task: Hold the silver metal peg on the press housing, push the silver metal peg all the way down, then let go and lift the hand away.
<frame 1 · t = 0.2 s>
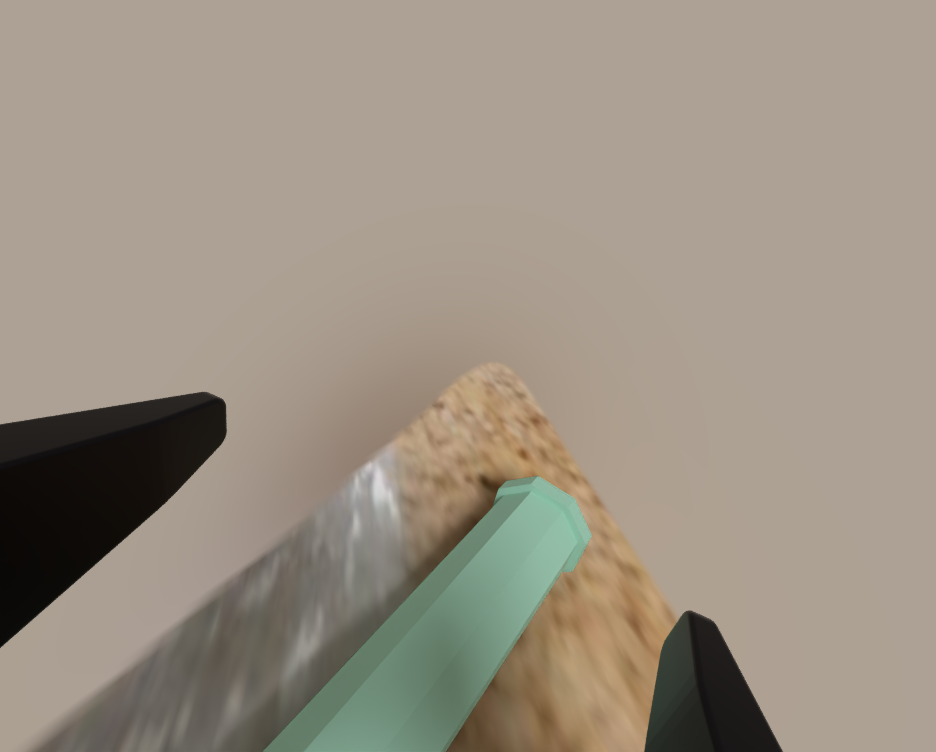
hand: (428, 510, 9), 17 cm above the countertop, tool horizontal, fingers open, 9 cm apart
mint green octagonal rod: (385, 737, 21), on the countertop
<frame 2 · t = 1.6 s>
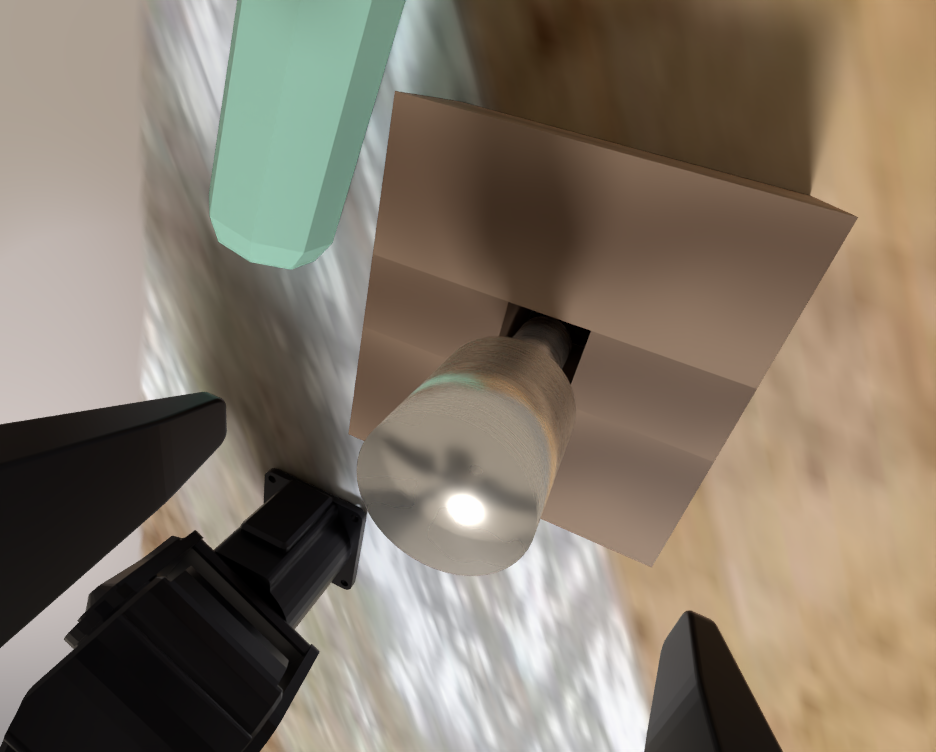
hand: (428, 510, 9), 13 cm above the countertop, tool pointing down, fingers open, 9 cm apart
press housing: (566, 308, 20), on the countertop
silver metal peg: (506, 399, 13), point 8 cm above the countertop, slide at 0.0 cm
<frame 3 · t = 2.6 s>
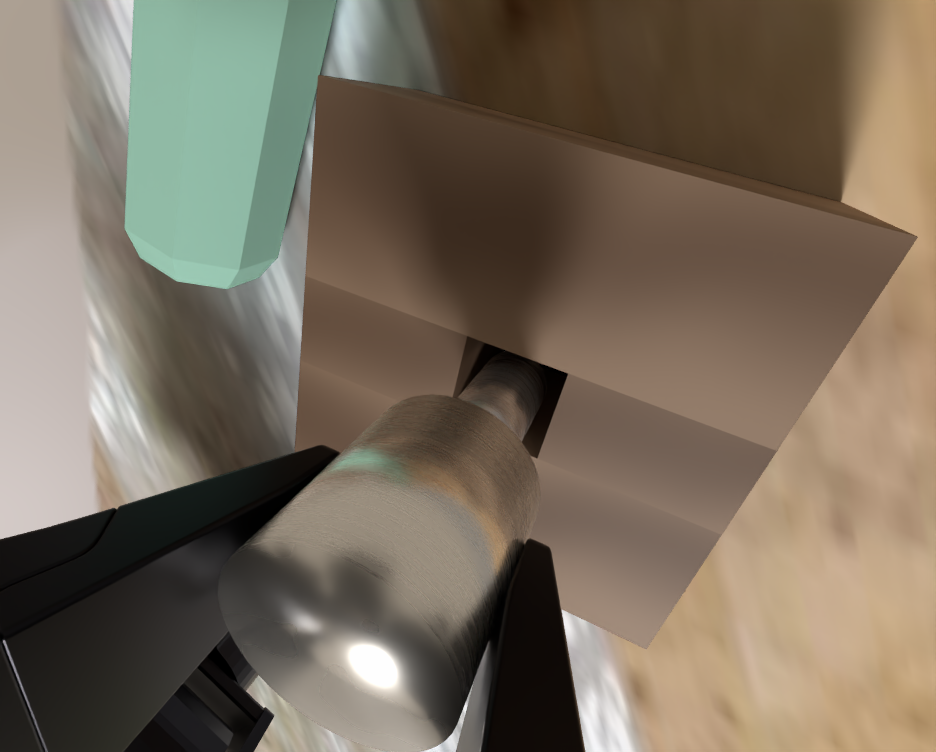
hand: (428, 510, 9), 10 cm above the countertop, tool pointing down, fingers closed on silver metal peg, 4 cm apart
press housing: (547, 333, 17), on the countertop
silver metal peg: (454, 470, 10), point 8 cm above the countertop, slide at 0.0 cm, touching gripper
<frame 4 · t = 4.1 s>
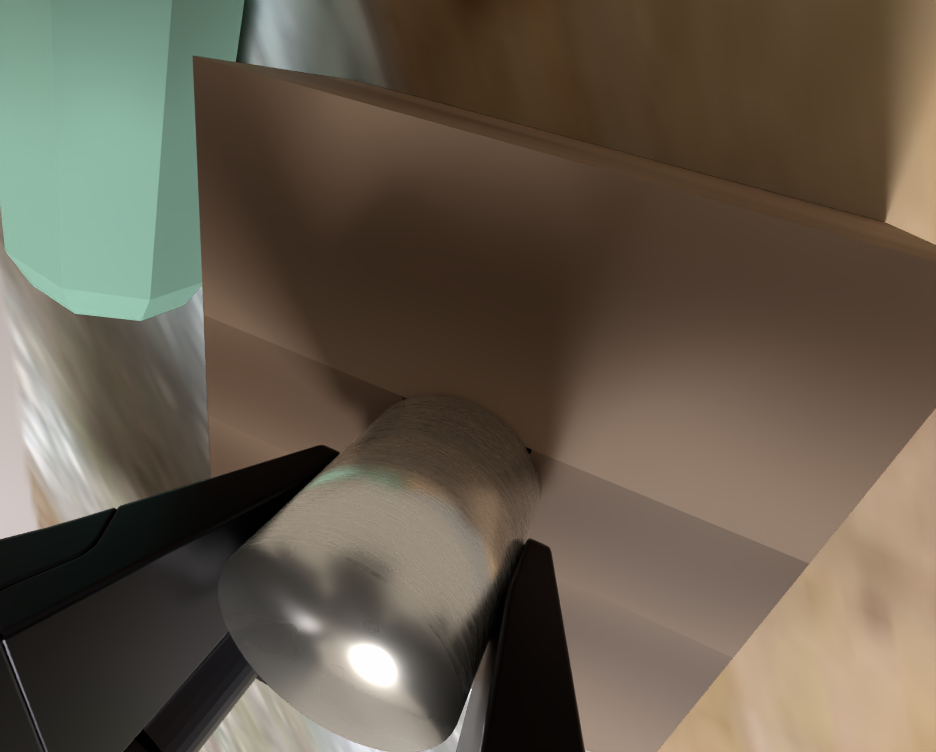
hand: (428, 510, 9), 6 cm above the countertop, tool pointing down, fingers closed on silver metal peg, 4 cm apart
press housing: (520, 373, 14), on the countertop
silver metal peg: (454, 470, 10), point 5 cm above the countertop, slide at 3.4 cm, touching gripper
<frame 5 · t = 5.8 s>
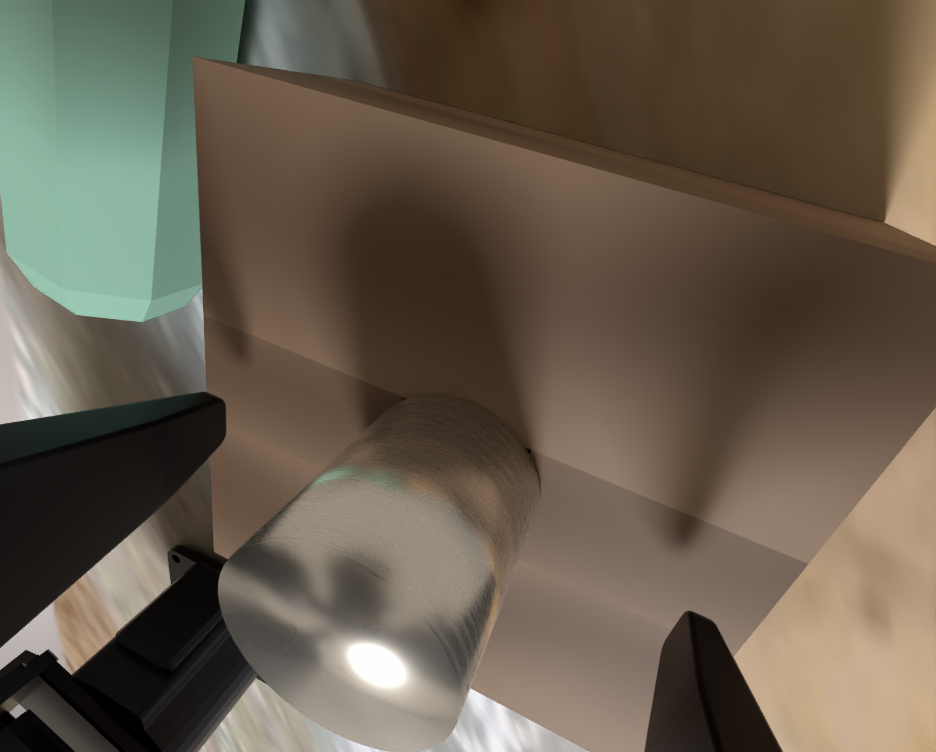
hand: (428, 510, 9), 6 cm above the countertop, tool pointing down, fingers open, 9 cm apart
press housing: (519, 374, 14), on the countertop
silver metal peg: (454, 470, 10), point 5 cm above the countertop, slide at 3.4 cm
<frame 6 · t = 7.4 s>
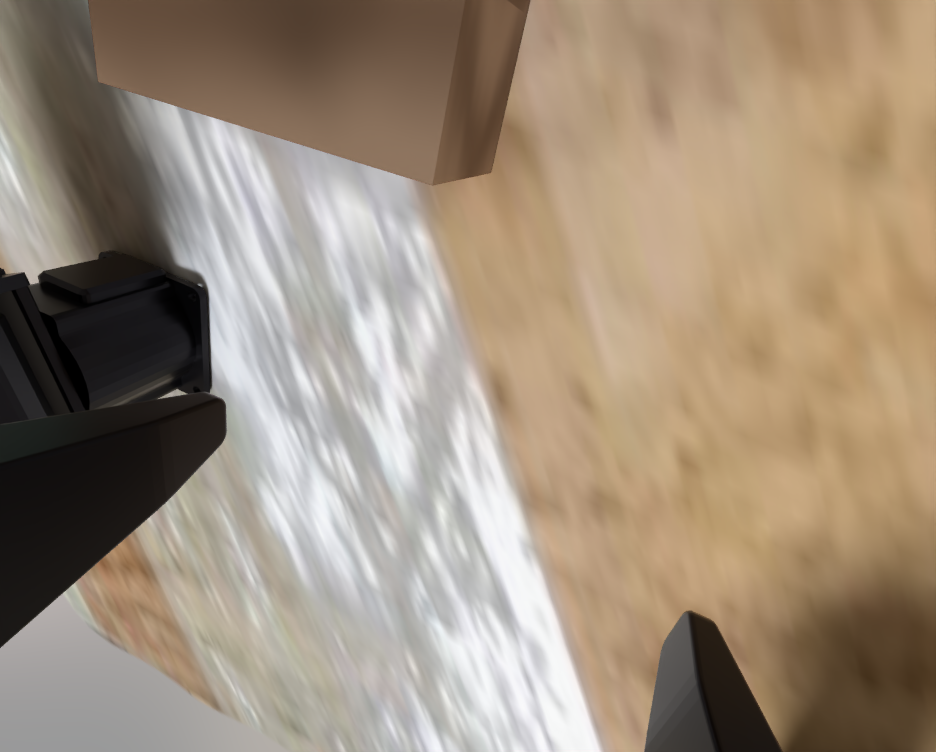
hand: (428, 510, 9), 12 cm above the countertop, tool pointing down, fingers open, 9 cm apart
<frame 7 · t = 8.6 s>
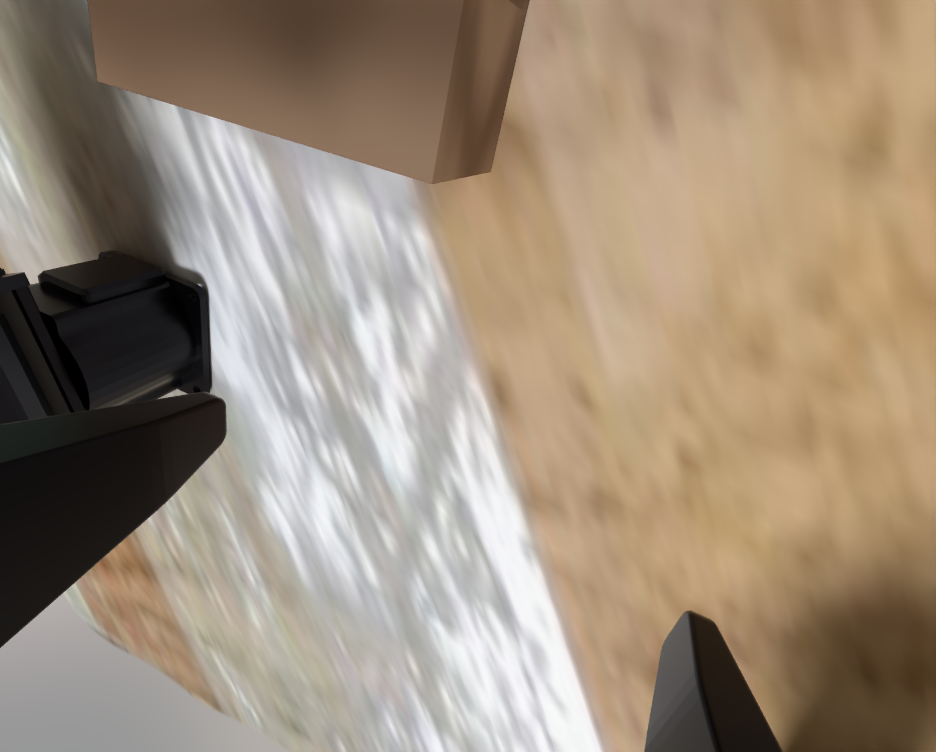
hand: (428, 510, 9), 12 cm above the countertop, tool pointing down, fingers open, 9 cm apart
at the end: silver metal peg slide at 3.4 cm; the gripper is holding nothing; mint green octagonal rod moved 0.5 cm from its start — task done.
